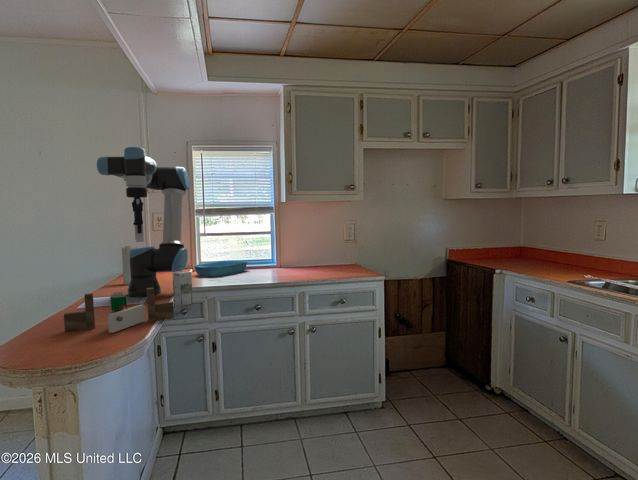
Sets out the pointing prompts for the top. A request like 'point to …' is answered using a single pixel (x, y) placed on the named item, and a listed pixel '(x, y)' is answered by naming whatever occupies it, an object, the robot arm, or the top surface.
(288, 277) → the top surface
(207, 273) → the casserole dish
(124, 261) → the pale grey tall block
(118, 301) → the soda can
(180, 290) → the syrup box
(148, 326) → the top surface
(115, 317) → the gate
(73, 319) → the partition
